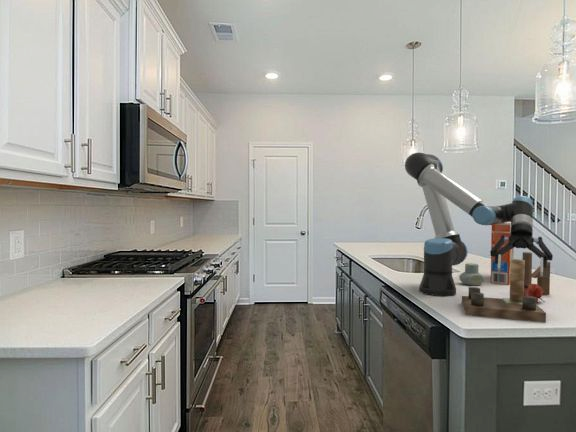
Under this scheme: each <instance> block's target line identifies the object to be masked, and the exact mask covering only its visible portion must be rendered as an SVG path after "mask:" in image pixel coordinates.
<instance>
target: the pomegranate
mask: <svg viewBox="0 0 576 432" xmlns="http://www.w3.org/2000/svg"><path fill="white" fill-rule="evenodd" d="M524 287H525V289H524V296H532V297H536V303H537V302H538V301H539V300H540V301H542V302H544V303H545V302H546V301H545V300H543V299H542V297H543V296H544V295H543V289H542V288H541V286H539V285H538V284H537V283H532V284H530V285H527V286H525V285H524Z"/></svg>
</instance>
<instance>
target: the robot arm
mask: <svg viewBox="0 0 576 432" xmlns="http://www.w3.org/2000/svg"><path fill="white" fill-rule="evenodd" d="M404 169H405V172H406V173H407V174H408V175H409V176H410V177H411V178H413V179H414V180H416V182H417V185H418V186H419V187H420V188H422V192H423V195H424V199H425V201H426V202H425V203H426V205H427V209H428V213H429V217H430V219H431V223H432V226H433V230H434V233H435V235H434V238H429V239H426V240H425V242H424V243H423V244H424V245H423V275H422V278H421V281H420V283H419V287H418V288H419V290H420V291H421V292H423V293H422V294H424V293H427V294H426V295H429V294H433V295H432V296H437V295H441V296H440V297H449V296H455V295H457V287H456V284H455V280H454V278H453V266H458V265H460V264H461V263H463V262H464V261H465V260H466V259H467V258H468V257H467V256H468V253H469V251H468V247H467V245H466V244H465V242H463V240H462V239H461V236H460V233H458V232H457V231H456V230H455V226H454V224H453V221H452V217H451V214H450V210H449V206H448V203H447V200H448V201H449V202H450V203H452V204H453V205H455V206H457V207H458V208H460V209H461V211H463V212H465V213H466V214H467V215H469V216H470V217H471V218H472V219H473V221H474V222H475V223H476V224H478V225H481V226H492V225H494V224H500V223H506V222H511V231H510V237H505V236H504V235H501V239H500V240H499V241H498V243H497V244H496V245H495V246H494V247H493V248H492V250H491V249H490V250H489V251H490V252H489V254H490V257H491V256H494V257H495V264H498V272H500V266H501V256H502V255H503V254H505V253H506V252H507V251H509V250H510V249H513V250H514V248H516V249H525V250H526V249H528V250H529V251H531V253H532V254H534V255H535V256H537V257H538V258H539V260H540V261H539V263H540V264H539V265H540V266H539V267H540V276H543V268H546V267H547V261H548V262H551V261H553V257H554V256H553V253H552V252H551V251H550V249H549V248H548V247H547V245H546V244H545V242H544V241H543V237H542V236H538V237H537V238H536V237H535V238H534V237H533V236H534V235H533V232H534V231H533V228H534V226H533V225H534V224H533V223H534V220H533V218H534V217H533V215H534V204H533V203H534V202H533V199H531V198H530V197H528V196H527V195H518V196H516V197H514V198H512V202H511V203H507V204H503V205H501V204H500V205H495V206H490V205H489V204H487V203H486V202H484V200H482V199H480V198H479V197H478V196H475V195H474V194H473V193H471V191H468V190H467V189H465V188H464V187H462V186H461V185H459V184H458V183H457V182H455V181H454V180H452V179H451V178H450V177H448V176H446V175H445V174H443V171H444V165H443V162H442V160H441V159H440V158H439V157H437V156H436V155H433V154H429V153H423V152H414V153H412V154H410V155H409V156H408V157H407V158H406V160H405V162H404ZM506 241H509V243H508V244H507V245H505V246H504V247H502V245H503V244H504V243H505V242H506ZM534 243H535V244H536V245H538V247H539V248H540V249H539V248H538V247H537V246H536V245H535V244H534ZM501 247H502V248H501ZM500 248H501V249H500ZM499 249H500V250H499ZM420 291H419V292H420ZM421 292H420V293H421Z"/></svg>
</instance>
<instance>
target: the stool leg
mask: <svg viewBox="0 0 576 432" xmlns="http://www.w3.org/2000/svg"><path fill="white" fill-rule="evenodd" d="M524 273H525V260H522V259H517V258H516V259H515V258H513V259H511V274H510V285H509V298H510V301H512V302H522V298H523V296H524Z"/></svg>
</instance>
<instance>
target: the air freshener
mask: <svg viewBox="0 0 576 432" xmlns="http://www.w3.org/2000/svg"><path fill="white" fill-rule="evenodd" d="M464 265H465V266H464V271H463V272H461V273H460V274H459V277H458V278H459V281H460V282H461V283H462V284H465V285H467V286H471V287H476V286H479V285H482V284H483V283H484V281H485V278H484V275H482V273H479V264H478V263H474V262H469V263H468V262H467V263H465V264H464Z"/></svg>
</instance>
